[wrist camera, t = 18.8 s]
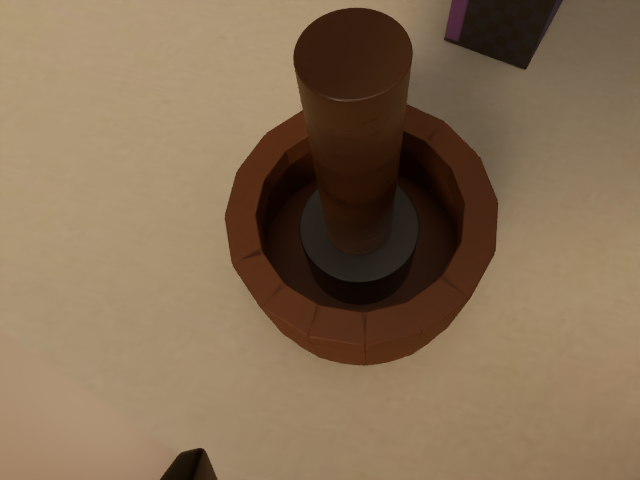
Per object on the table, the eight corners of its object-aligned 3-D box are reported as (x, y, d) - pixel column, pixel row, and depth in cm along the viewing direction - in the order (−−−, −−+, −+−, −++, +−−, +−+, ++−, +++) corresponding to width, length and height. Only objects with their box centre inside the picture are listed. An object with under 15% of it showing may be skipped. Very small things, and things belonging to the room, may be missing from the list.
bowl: (459, 383, 21) (489, 367, 16) (235, 345, 22) (195, 318, 17) (474, 178, 24) (503, 110, 19) (280, 156, 26) (258, 88, 21)
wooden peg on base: (432, 244, 22) (508, 26, 10) (371, 326, 21) (378, 189, 9) (349, 190, 24) (331, -56, 12) (287, 265, 23) (199, 76, 11)
